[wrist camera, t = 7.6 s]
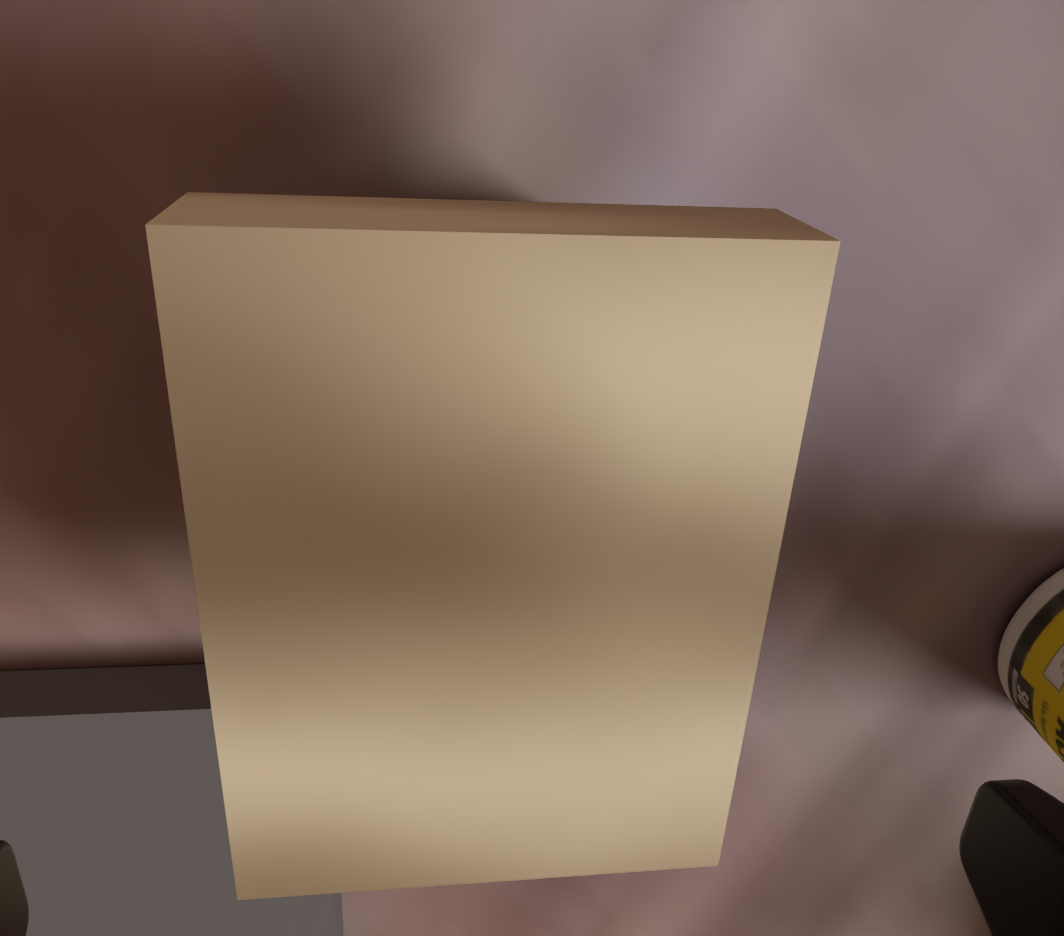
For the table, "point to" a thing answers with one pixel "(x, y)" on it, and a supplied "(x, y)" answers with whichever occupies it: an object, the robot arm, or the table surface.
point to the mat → (127, 809)
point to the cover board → (481, 521)
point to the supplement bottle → (1037, 661)
